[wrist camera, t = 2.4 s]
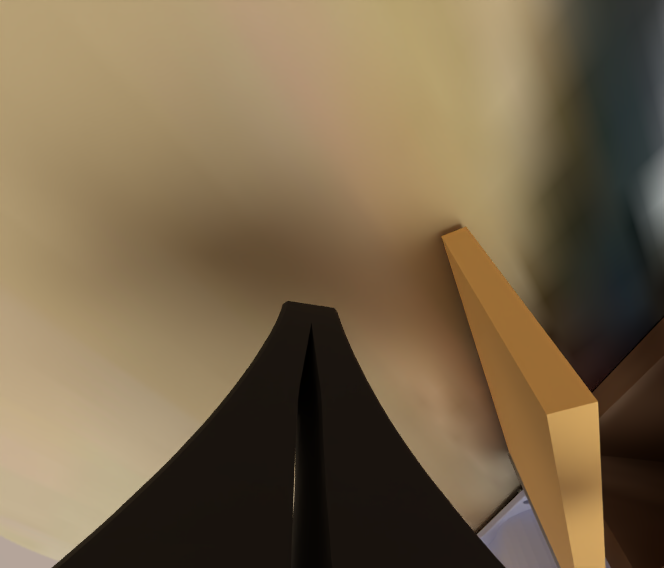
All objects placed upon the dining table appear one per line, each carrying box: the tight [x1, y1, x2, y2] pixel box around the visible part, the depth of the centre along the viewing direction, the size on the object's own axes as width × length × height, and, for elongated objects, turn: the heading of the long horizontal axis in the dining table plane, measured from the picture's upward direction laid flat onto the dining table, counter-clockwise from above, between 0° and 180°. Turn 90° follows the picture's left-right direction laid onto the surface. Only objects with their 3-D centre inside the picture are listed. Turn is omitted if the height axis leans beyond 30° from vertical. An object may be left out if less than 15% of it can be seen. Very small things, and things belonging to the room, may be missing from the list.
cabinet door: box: [441, 227, 605, 568], centre depth 12 cm, size 15×1×7 cm, turn 25°
